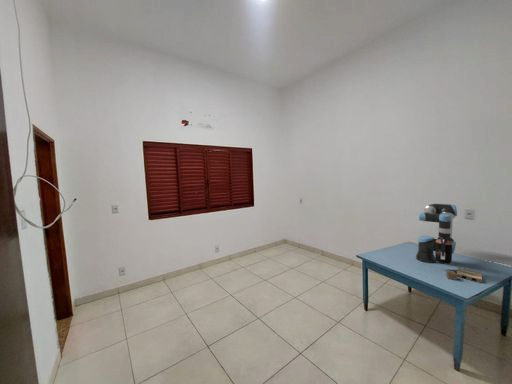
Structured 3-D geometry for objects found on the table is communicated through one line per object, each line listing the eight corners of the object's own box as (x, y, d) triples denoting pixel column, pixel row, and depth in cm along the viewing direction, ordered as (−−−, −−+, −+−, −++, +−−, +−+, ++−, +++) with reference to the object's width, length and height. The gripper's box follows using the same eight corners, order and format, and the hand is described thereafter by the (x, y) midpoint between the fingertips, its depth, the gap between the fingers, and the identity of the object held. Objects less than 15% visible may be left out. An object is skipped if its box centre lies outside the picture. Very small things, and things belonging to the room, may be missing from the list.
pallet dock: (457, 270, 180) (457, 267, 180) (481, 276, 170) (481, 272, 170) (456, 277, 171) (456, 273, 170) (481, 283, 160) (482, 279, 160)
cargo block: (446, 276, 173) (446, 270, 172) (454, 277, 170) (454, 271, 170) (448, 279, 168) (448, 273, 168) (456, 280, 166) (456, 274, 165)
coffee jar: (431, 259, 187) (432, 239, 185) (444, 258, 187) (444, 239, 185) (442, 264, 176) (443, 244, 174) (455, 263, 176) (456, 243, 174)
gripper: (439, 228, 189) (439, 251, 192) (437, 235, 173) (436, 260, 176) (451, 229, 184) (450, 253, 186) (449, 236, 168) (448, 262, 170)
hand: (443, 257), depth 181 cm, fingers closed on coffee jar, 10 cm apart
